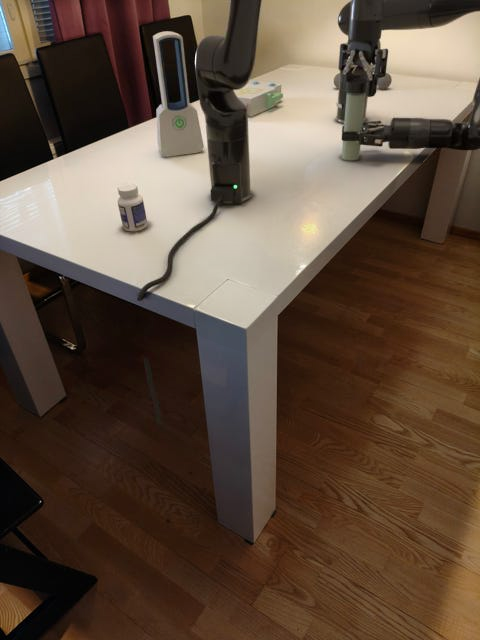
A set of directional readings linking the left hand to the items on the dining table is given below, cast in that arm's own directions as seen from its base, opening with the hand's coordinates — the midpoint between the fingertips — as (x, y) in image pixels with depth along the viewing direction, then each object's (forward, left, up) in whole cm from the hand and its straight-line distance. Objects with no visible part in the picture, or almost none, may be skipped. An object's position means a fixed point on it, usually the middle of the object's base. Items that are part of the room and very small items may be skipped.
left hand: (359, 93), depth 121 cm
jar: (+1, +1, -16) cm, 16 cm away
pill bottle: (-42, +48, -16) cm, 66 cm away
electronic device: (+5, +49, -16) cm, 52 cm away
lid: (+1, +1, +2) cm, 3 cm away
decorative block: (+50, +35, -16) cm, 64 cm away
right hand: (+1, +3, -10) cm, 10 cm away
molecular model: (+81, -5, -16) cm, 83 cm away
